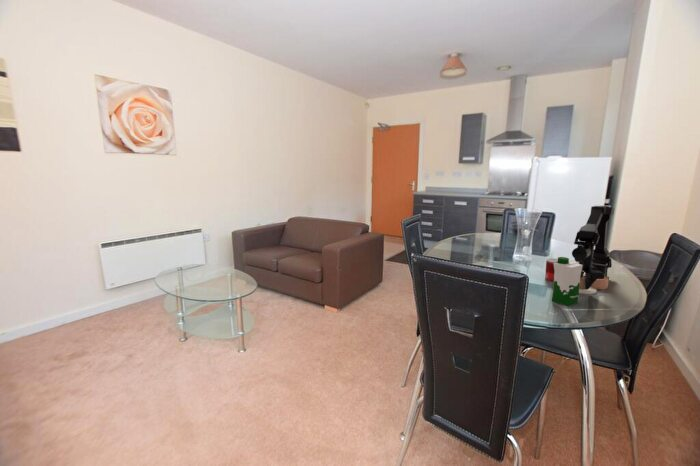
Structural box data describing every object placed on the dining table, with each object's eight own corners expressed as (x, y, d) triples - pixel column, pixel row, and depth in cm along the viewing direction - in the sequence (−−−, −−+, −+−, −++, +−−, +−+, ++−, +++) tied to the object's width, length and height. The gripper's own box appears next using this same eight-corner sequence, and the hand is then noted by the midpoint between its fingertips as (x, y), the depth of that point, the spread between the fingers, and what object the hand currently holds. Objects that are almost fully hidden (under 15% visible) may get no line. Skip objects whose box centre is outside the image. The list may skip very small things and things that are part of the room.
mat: (586, 285, 155) (586, 284, 155) (608, 296, 142) (608, 295, 141) (558, 286, 156) (558, 285, 156) (576, 296, 142) (576, 296, 142)
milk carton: (560, 297, 143) (564, 255, 139) (581, 304, 135) (586, 260, 131) (548, 300, 139) (551, 258, 136) (568, 308, 131) (573, 263, 128)
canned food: (557, 283, 160) (558, 263, 158) (541, 279, 167) (543, 259, 165) (565, 280, 163) (567, 260, 161) (550, 276, 170) (551, 257, 168)
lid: (585, 286, 154) (586, 274, 153) (602, 294, 143) (603, 282, 142) (562, 286, 154) (564, 275, 153) (577, 294, 144) (579, 282, 143)
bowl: (597, 282, 159) (598, 273, 158) (612, 289, 149) (613, 279, 148) (577, 282, 159) (578, 273, 158) (591, 290, 149) (592, 280, 149)
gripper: (555, 251, 155) (553, 280, 158) (581, 261, 137) (577, 294, 140) (578, 250, 155) (575, 280, 157) (607, 261, 136) (603, 294, 139)
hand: (582, 287), depth 148 cm, fingers open, 6 cm apart
